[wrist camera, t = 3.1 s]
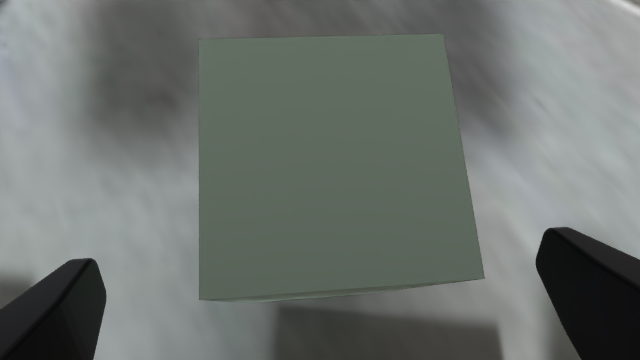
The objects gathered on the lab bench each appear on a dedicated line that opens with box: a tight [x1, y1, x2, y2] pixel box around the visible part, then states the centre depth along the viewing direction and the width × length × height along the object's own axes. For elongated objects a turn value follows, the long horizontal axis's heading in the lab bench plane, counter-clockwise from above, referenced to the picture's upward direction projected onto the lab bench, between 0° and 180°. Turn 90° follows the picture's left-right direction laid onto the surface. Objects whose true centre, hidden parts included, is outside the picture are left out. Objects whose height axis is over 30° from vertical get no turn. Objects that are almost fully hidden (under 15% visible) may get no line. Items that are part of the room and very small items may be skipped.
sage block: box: [199, 34, 485, 303], centre depth 13 cm, size 4×4×11 cm
